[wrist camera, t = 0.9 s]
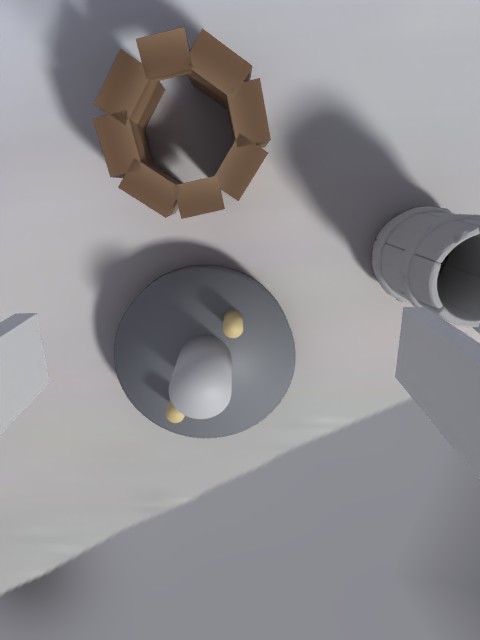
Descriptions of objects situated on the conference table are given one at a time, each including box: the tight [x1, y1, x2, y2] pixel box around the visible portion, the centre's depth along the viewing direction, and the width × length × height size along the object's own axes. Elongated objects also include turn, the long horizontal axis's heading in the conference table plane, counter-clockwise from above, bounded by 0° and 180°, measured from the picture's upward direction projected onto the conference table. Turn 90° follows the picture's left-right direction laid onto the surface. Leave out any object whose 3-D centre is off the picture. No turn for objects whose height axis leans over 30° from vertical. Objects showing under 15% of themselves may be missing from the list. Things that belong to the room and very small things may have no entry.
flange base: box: [114, 265, 295, 438], centre depth 33 cm, size 15×15×8 cm
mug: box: [372, 206, 480, 333], centre depth 29 cm, size 8×12×12 cm, turn 44°
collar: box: [93, 27, 271, 219], centre depth 29 cm, size 11×11×5 cm
